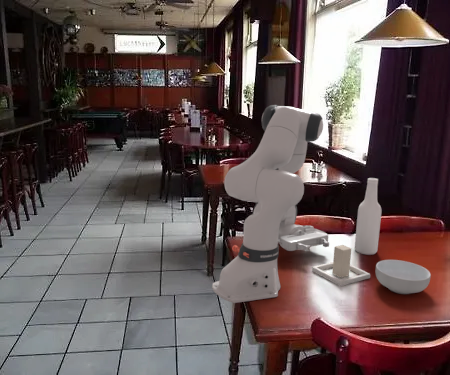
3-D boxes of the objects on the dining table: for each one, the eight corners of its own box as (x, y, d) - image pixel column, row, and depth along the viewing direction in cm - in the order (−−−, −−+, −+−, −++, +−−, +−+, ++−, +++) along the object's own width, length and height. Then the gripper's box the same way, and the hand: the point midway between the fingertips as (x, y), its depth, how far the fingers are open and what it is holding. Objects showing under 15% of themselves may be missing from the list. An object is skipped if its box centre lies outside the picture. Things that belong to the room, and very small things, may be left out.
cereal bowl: (425, 306, 132) (428, 284, 131) (369, 292, 140) (371, 272, 138) (430, 285, 147) (432, 265, 145) (378, 274, 155) (380, 255, 153)
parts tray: (340, 286, 144) (341, 281, 144) (312, 270, 156) (312, 266, 156) (369, 277, 151) (370, 273, 151) (340, 263, 163) (340, 260, 163)
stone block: (340, 277, 151) (343, 250, 149) (332, 273, 154) (334, 246, 152) (348, 275, 153) (351, 248, 151) (340, 271, 156) (342, 244, 154)
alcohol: (349, 250, 177) (356, 177, 171) (363, 245, 183) (370, 175, 176) (368, 256, 171) (376, 181, 164) (381, 252, 176) (389, 179, 169)
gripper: (273, 232, 168) (297, 243, 156) (314, 225, 178) (338, 234, 167) (273, 247, 169) (296, 259, 158) (313, 239, 180) (337, 250, 168)
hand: (318, 246), depth 162 cm, fingers open, 8 cm apart
